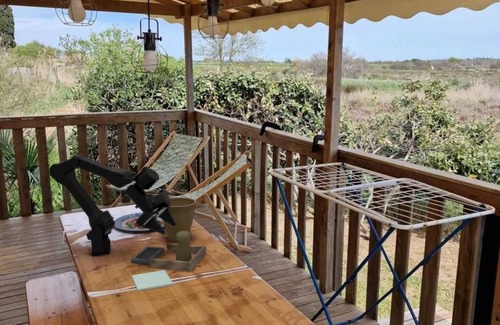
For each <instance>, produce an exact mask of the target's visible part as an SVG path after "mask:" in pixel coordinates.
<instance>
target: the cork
mask: <svg viewBox="0 0 500 325" xmlns="http://www.w3.org/2000/svg"><path fill="white" fill-rule="evenodd" d="M176 239H177V241H178V242H177V243H176V244H177V252H175V260H176V261H186V262H189V261H190V260H191V259H192V258H193V254H191V249H190V245H191V243H190V240H191V233H189V232H188V231H180V232H178V233H177V235H176Z"/></svg>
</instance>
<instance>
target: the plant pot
mask: <svg viewBox="0 0 500 325" xmlns="http://www.w3.org/2000/svg"><path fill="white" fill-rule="evenodd" d="M168 200H169V201H170V202H171V204H170V205H171V207H170V212H171V215H172V217H173V219H174V221H175V223H176V225H175V226H172V225H170V224H169V223H167V222H166V221H164V220H162V221H163V224H164V227H163V228H164V230H165V232H166V233H165V234H166V235H167V237H168V240H169V241H171V242H172V243H173V242H174V243H178V241H177V239H176V235H177V233H178V232H180V231H188V232H189V233H190V232H191V229H192V227H193V226H192V225H193V221H194V219H195V218H194V217H195V212H196V206H197V200H196V199H193V198H190V197H182V196H181V197H179V196H178V197H169V199H168ZM190 234H191V233H190Z"/></svg>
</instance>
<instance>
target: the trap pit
mask: <svg viewBox="0 0 500 325" xmlns="http://www.w3.org/2000/svg"><path fill="white" fill-rule="evenodd" d="M164 252H165V247H161V246H149V245H147V246H145V247H144V248H143V249H141V250H140V251H139V252H138V253H137V254H135V255H134V256H132V257H131V258H130V264H135V265H145V266H149V259H150V258H157V259H159V257H160V256H162V254H164Z"/></svg>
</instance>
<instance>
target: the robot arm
mask: <svg viewBox="0 0 500 325" xmlns="http://www.w3.org/2000/svg"><path fill="white" fill-rule="evenodd" d="M77 169H81V170H83V171H86V172H88V173H91V174H94V175H96V176H97V177H101V178H103V179H105V180H106V181H107V183H108V184H110V185H111V186H113V187H115V188H118V189H121V188H123V189H121V193H120V198H122V199H123V198H124V197H128V198H129V199H130V200H131V202H133V203H134V205H135V206H134V208H135V209H136V210H137V209H139V210H140V211H141V213H142V212H143V214H142V215H141V216H140V217H139V218H138V219H137V220H136V224H137V225H138V226H139V227H142V226H143V225H144V224H145V225H144V226H143V228H147V229H150V230H149V231H153V232H156V233H157V234H161V235H166V234H167V233H166V230H165V228H164V227H162V226H161V225H160V224H159V222H158V221H157V215H159V214H160V215H159V216H158V217H159V218H161V219H162V220H164V221H166V222H167V223H169V224H170V225H172V226H175V225H176V223H175V221H174V219H173V217H172V215H171V212H170V207H171V205H170V204H171V202H170V201H169V200H168V199H169V198H170V196H169V195H170V192H169V191H168V190H167V189H165V188H161V189H160V190H158V193H157V194H155V195H154V194H153V193H151V192H150V193H149V194H148V192H147V191H149V190H150V189H151V188H152V187H153V186H154V185H155V184H156V183H157V182H158V181H159V180H160V175H159V174H158V173H157V171H156V170H154V169H152V168H149V167H148V166H147V165H146V166H144V167H142V168H141V169H140V171H139V172H138V173H135V172H132V171H131V170H129V169H126V168H121V167H113V166H108V165H107V164H105V163H101V162H99V161H96V160H95V159H91V158H89V157H86V156H85V155H83V154H78V155H74V156H72V157H71V158H69V159H67V160H65V161H64V160H63V161H61V162H60V161H59V162H57V163H53V164H51V165H50V166H49V169H48V170H49V171H48V174H49V176H50V177H51V178H52V180H54V181H55V182H56V183H58V184H59V185H61V186H63V187H65V189H66V190H67V191H68V193H69V194H70V195H71V197H72V198H73V199H74V200H75V202H76V204H78V206H79V207H80V208H81V210H82V211H83V213H84V214H85V215H86V216H87V217H88V224H89V227H90V230H89V231H88V232H87V233H86V234H85V235H86V239H87V241H90V246H91V247H90V248H91V249H90V253H91V256H92V257H95V256H96V257H97V256H105V255H110V254H111V251H112V250H111V249H112V243H111V242H112V241H111V239H110V237H109V235H111V234H112V231H113V229H115V228H116V227H115V220H114V219H115V217H114V216H113V215H111V213H110V211H109V209H107V210H106V209H105V210H101V209H100V208H99V207H98V204H96V203H95V201H94V200H93V199H92V197H91V196H90V194H88V192H87V191H86V189H85V188H84V187H83V185H82V184H81V183H80V181H79V180H78V179H77V173H76V170H77ZM133 182H134V183H133ZM126 186H127V187H126ZM124 187H126V188H124ZM146 190H147V191H146ZM155 214H157V215H155ZM153 215H155V216H153Z"/></svg>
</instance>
